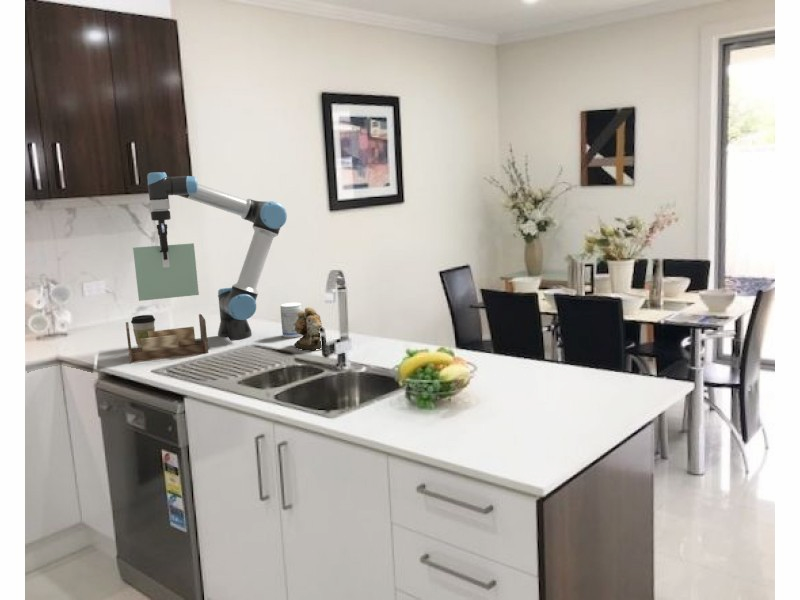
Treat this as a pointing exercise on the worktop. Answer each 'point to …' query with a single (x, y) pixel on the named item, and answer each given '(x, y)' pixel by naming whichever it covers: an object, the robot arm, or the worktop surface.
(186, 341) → the offcut oak
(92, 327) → the worktop surface
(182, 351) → the rack
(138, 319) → the coffee cup
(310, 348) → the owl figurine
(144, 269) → the sheet
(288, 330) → the supplement tub
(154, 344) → the offcut birch
